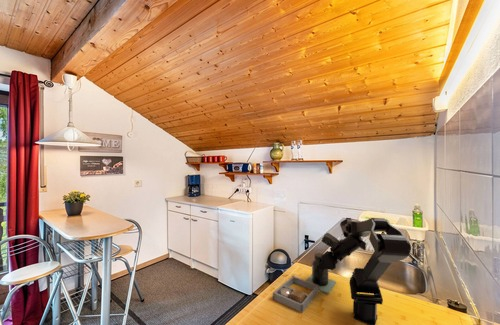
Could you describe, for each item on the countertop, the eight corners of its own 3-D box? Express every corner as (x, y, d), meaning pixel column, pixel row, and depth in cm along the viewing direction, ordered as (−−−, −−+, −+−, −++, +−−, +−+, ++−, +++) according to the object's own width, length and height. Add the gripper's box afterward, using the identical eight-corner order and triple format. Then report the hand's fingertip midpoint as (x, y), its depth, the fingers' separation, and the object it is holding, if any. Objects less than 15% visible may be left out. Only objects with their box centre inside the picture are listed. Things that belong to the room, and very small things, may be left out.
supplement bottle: (326, 279, 100) (326, 252, 100) (329, 287, 93) (330, 258, 93) (310, 277, 101) (311, 251, 101) (313, 286, 94) (313, 257, 94)
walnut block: (304, 303, 83) (305, 292, 83) (300, 308, 80) (300, 297, 80) (295, 299, 86) (295, 288, 86) (290, 304, 83) (290, 293, 83)
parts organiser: (319, 291, 91) (319, 285, 91) (302, 312, 78) (302, 305, 78) (292, 281, 98) (292, 275, 98) (272, 299, 85) (273, 292, 85)
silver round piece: (292, 298, 86) (292, 290, 86) (287, 303, 83) (288, 295, 83) (283, 294, 89) (283, 286, 89) (278, 298, 86) (278, 291, 86)
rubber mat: (336, 282, 98) (336, 281, 98) (328, 294, 89) (328, 292, 89) (312, 274, 105) (312, 273, 105) (302, 284, 96) (302, 283, 96)
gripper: (340, 224, 101) (315, 242, 108) (327, 234, 86) (299, 254, 93) (358, 245, 96) (332, 263, 103) (348, 260, 81) (317, 279, 88)
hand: (320, 264), depth 97 cm, fingers open, 9 cm apart
